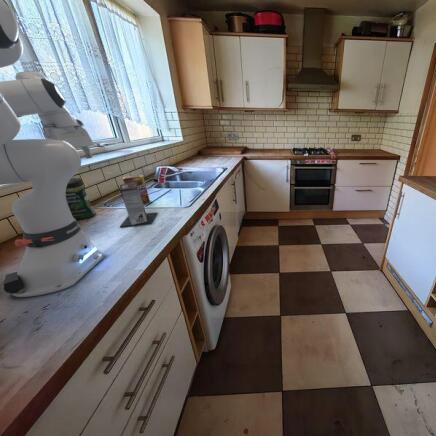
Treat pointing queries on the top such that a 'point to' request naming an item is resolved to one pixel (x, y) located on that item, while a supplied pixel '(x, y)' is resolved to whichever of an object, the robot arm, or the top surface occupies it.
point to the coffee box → (133, 203)
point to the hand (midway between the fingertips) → (83, 160)
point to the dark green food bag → (78, 199)
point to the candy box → (139, 186)
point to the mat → (128, 223)
